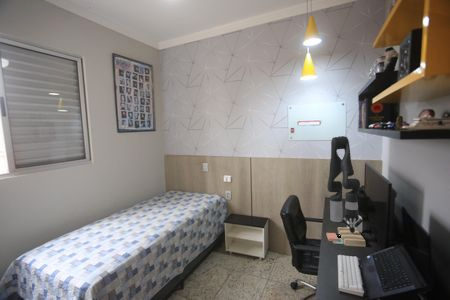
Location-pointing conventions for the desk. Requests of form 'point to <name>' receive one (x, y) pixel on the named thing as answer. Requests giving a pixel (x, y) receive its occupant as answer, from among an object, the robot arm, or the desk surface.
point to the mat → (339, 241)
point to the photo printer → (358, 226)
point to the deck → (351, 237)
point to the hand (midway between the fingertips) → (352, 232)
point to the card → (332, 237)
